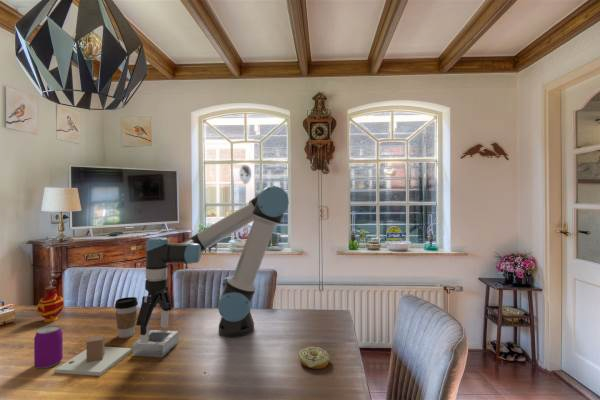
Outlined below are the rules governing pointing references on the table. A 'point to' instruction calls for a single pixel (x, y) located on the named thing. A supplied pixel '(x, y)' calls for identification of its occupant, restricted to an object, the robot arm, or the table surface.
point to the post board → (95, 365)
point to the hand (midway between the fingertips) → (155, 334)
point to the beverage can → (48, 346)
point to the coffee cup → (126, 316)
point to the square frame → (156, 344)
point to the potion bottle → (50, 305)
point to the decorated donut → (314, 357)
